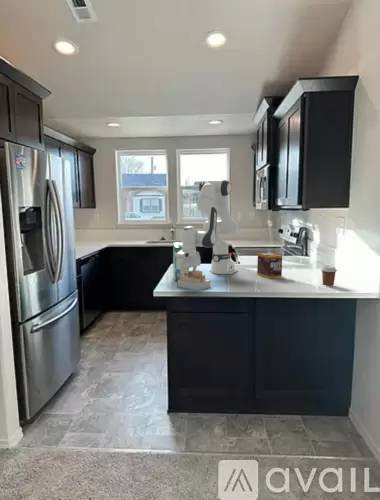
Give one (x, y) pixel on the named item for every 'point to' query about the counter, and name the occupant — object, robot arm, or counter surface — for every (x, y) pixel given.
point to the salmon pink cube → (197, 273)
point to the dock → (194, 284)
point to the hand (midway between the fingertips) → (188, 274)
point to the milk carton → (176, 272)
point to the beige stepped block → (192, 277)
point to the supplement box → (269, 265)
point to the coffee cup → (328, 275)
